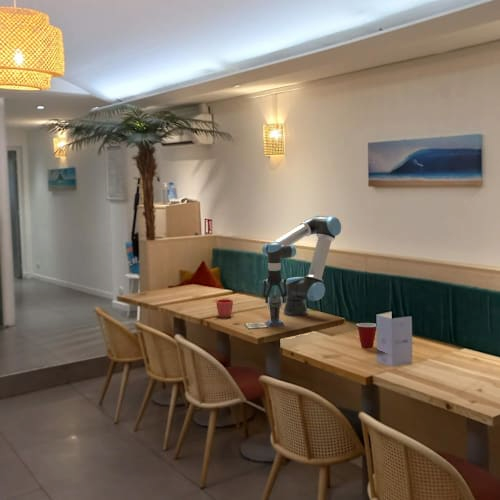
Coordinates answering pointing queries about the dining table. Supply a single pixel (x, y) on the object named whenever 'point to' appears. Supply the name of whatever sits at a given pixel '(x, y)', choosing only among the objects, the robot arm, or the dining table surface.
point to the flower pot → (224, 307)
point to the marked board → (256, 325)
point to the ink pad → (274, 323)
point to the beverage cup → (274, 307)
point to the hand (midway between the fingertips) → (274, 308)
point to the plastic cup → (366, 334)
